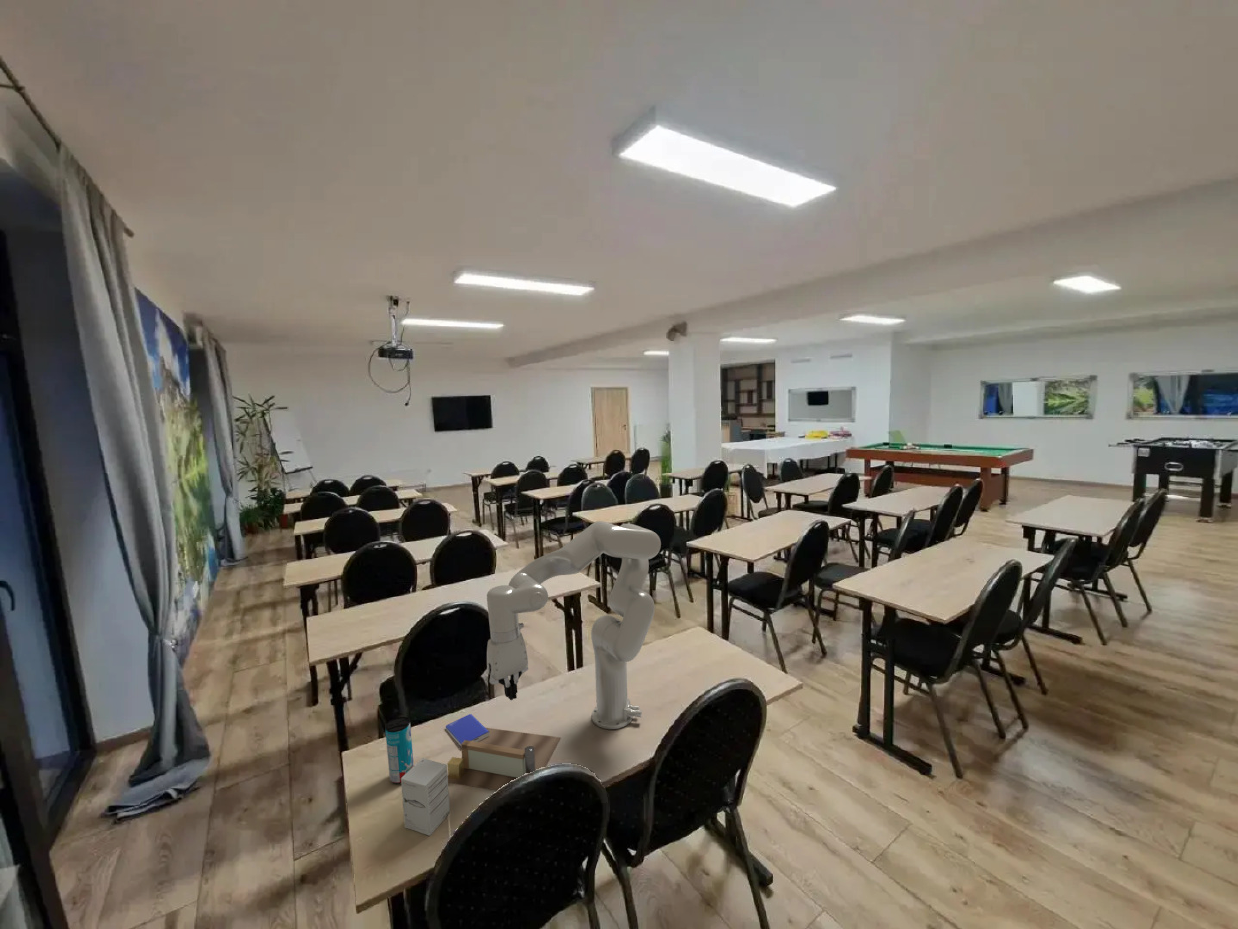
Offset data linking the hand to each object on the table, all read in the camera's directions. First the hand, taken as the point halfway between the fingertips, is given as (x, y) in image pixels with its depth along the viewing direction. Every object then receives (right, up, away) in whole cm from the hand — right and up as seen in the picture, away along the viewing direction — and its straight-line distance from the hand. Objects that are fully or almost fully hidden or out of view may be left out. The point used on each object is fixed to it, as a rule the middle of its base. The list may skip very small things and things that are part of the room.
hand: (511, 697), depth 135 cm
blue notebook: (-16, -17, +12) cm, 26 cm away
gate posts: (-4, -18, -6) cm, 19 cm away
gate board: (-2, -18, +1) cm, 18 cm away
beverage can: (-28, -19, -4) cm, 34 cm away
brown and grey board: (-3, -17, -4) cm, 18 cm away
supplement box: (-16, -21, -18) cm, 32 cm away
